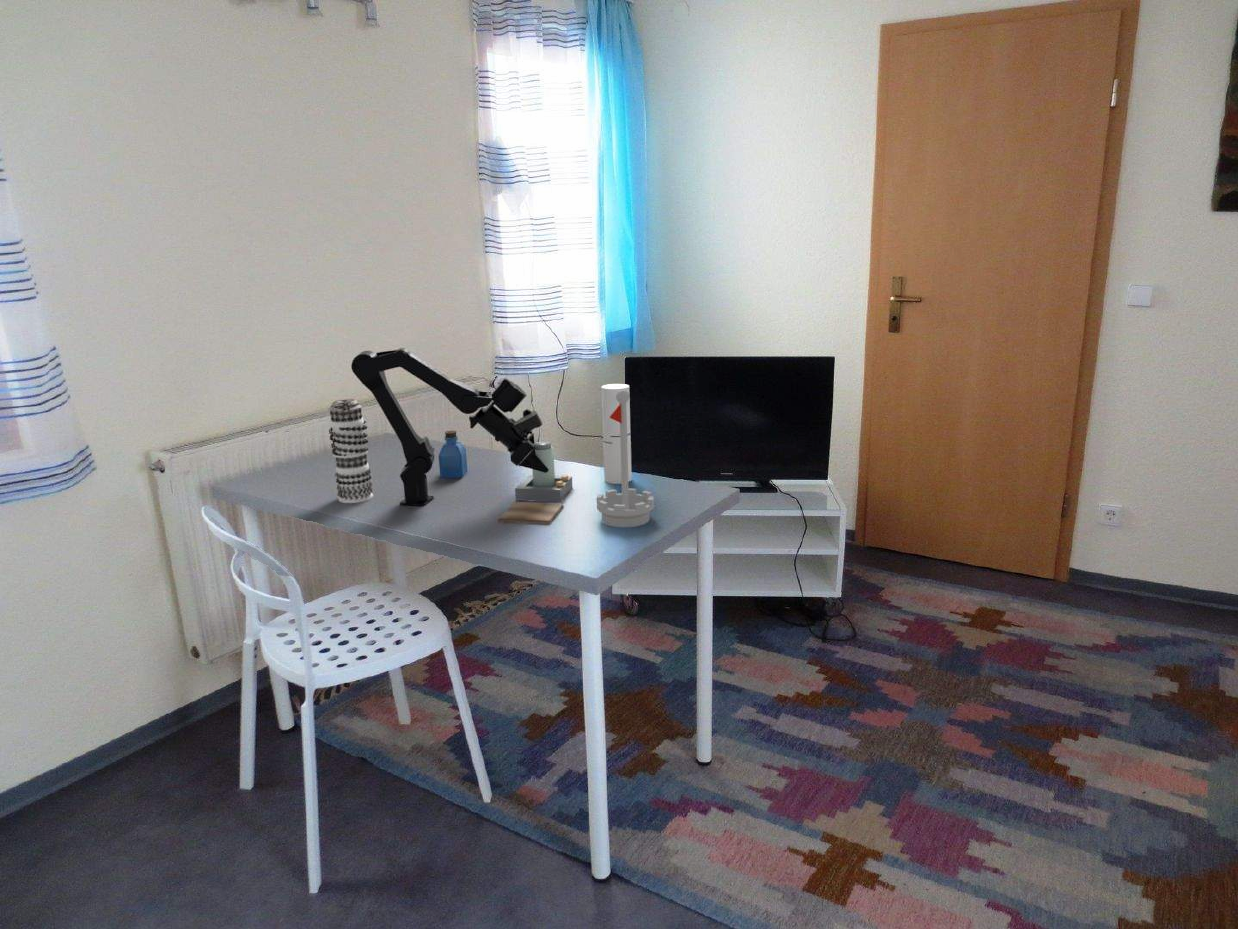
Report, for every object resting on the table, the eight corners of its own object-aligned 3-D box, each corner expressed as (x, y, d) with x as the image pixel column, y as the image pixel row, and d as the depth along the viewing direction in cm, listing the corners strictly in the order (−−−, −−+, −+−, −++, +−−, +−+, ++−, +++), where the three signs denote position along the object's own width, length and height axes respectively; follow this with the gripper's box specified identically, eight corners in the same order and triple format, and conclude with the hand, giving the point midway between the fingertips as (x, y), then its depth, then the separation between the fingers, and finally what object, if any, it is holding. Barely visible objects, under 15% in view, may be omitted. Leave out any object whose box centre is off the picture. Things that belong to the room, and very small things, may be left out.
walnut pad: (549, 524, 193) (549, 520, 193) (499, 521, 196) (498, 518, 195) (563, 507, 205) (563, 503, 204) (515, 505, 207) (515, 502, 207)
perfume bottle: (463, 477, 231) (459, 434, 228) (440, 477, 231) (436, 434, 228) (467, 471, 237) (464, 429, 234) (445, 471, 237) (441, 429, 234)
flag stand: (618, 506, 204) (615, 382, 196) (665, 515, 197) (663, 387, 189) (585, 522, 194) (580, 392, 186) (633, 532, 186) (630, 397, 178)
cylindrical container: (628, 484, 221) (626, 389, 214) (601, 483, 222) (598, 388, 216) (633, 476, 228) (631, 383, 221) (607, 475, 229) (604, 383, 222)
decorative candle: (382, 493, 219) (371, 397, 212) (361, 504, 210) (349, 405, 204) (351, 491, 222) (340, 396, 215) (329, 502, 213) (317, 404, 206)
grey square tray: (560, 501, 209) (559, 486, 207) (515, 500, 211) (514, 484, 210) (572, 487, 219) (571, 472, 218) (529, 486, 222) (528, 471, 221)
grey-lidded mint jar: (552, 497, 212) (549, 447, 208) (531, 496, 213) (528, 446, 210) (558, 490, 217) (555, 441, 214) (537, 490, 218) (534, 440, 215)
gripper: (521, 409, 199) (571, 452, 203) (520, 394, 217) (566, 434, 221) (490, 444, 201) (539, 486, 205) (491, 426, 218) (537, 465, 223)
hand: (546, 466), depth 213 cm, fingers open, 9 cm apart
